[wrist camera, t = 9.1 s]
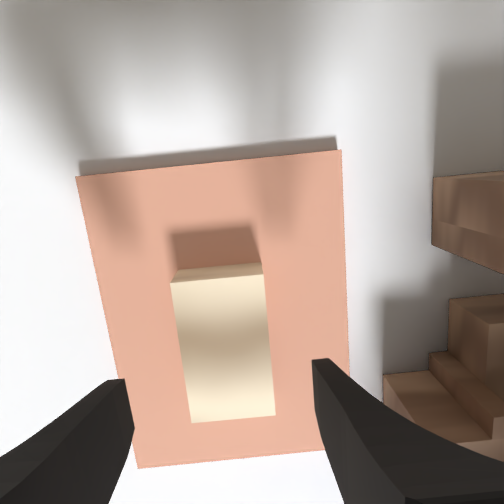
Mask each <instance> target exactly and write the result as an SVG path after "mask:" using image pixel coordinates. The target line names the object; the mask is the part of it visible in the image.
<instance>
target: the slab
mask: <svg viewBox="0 0 504 504" xmlns="http://www.w3.org/2000/svg"><path fill="white" fill-rule="evenodd" d="M170 287H171V294H172V300H173V307H174V313H175V320H176V326H177V333H178V339H179V345H180V352H181V358H182V365H183V371H184V378H185V384H186V391H187V397H188V404H189V410H190V416H191V423H200V422H211V421H221V420H232V419H242V418H253V417H264V416H274V415H276V412H275V400H274V389H273V377H272V366H271V354H270V343H269V331H268V320H267V308H266V297H265V285H264V274H263V269H262V263H261V262H256V263H245V264H234V265H224V266H213V267H203V268H192V269H181V270H178V271H177V273H176V274H175V276H174V277H173V279H172V281H171V282H170Z"/></svg>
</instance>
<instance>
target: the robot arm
mask: <svg viewBox="0 0 504 504" xmlns="http://www.w3.org/2000/svg"><path fill="white" fill-rule="evenodd" d="M311 362H312V378H313V393H314V409H315V414H316V418H317V423H318V427H319V431H320V435H321V439H322V442H323V445H324V448H325V451H326V453H327V456H328V459H329V462H330V465H331V467H332V470H333V473H334V476H335V478H336V481H337V484H338V487H339V490H340V492H341V495H342V498H343V501H344V504H504V462H502V461H499V460H497V459H494V458H491V457H488V456H485V455H482V454H480V453H477V452H475V451H472V450H470V449H467V448H465V447H462V446H460V445H458V444H455V443H453V442H451V441H449V440H447V439H444V438H442V437H440V436H438V435H436V434H434V433H432V432H430V431H428V430H426V429H424V428H422V427H421V426H419V425H417V424H415V423H413V422H411V421H410V420H408V419H407V418H405V417H403V416H402V415H400V414H398V413H397V412H395V411H393V410H392V409H390V408H389V407H387V406H386V405H385V404H383V403H382V402H380V401H379V400H378V399H376V398H375V397H373V396H372V395H371V394H369V393H368V392H367V391H366V390H365V389H363V388H362V387H361V386H360V385H358V384H357V383H356V382H355V381H354V380H353V379H351V378H350V377H349V376H348V375H347V374H346V373H345V372H344V371H343V370H342V369H340V368H339V367H338V366H337V365H336V364H335V363H334V362H333V361H332V360H331V359H329V358H323V359H313V360H311ZM134 430H135V426H134V421H133V416H132V411H131V407H130V402H129V397H128V392H127V388H126V383H125V378H124V379H114V380H107V381H105V382H104V383H102V384H101V385H100V386H98V387H97V388H95V389H94V390H93V391H91V392H90V393H89V394H88V395H86V396H85V397H84V398H83V399H81V400H80V401H79V402H77V403H76V404H75V405H74V406H72V407H71V408H70V409H68V410H67V411H66V412H64V413H63V414H62V415H61V416H59V417H58V418H57V419H55V420H54V421H52V422H51V423H50V424H48V425H47V426H46V427H44V428H43V429H41V430H40V431H39V432H37V433H36V434H35V435H33V436H32V437H30V438H29V439H27V440H26V441H25V442H23V443H22V444H20V445H19V446H17V447H15V448H14V449H12V450H11V451H9V452H8V453H6V454H4V455H3V456H1V457H0V504H108V503H109V501H110V499H111V496H112V494H113V491H114V489H115V486H116V484H117V482H118V479H119V477H120V474H121V472H122V469H123V467H124V464H125V462H126V459H127V456H128V453H129V449H130V446H131V442H132V438H133V434H134Z"/></svg>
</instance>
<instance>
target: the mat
mask: <svg viewBox="0 0 504 504" xmlns="http://www.w3.org/2000/svg"><path fill="white" fill-rule="evenodd" d="M75 178H76V183H77V188H78V192H79V197H80V202H81V206H82V211H83V216H84V220H85V225H86V229H87V234H88V239H89V243H90V248H91V253H92V257H93V262H94V267H95V271H96V276H97V281H98V285H99V290H100V295H101V299H102V304H103V309H104V313H105V318H106V323H107V327H108V332H109V337H110V341H111V346H112V350H113V355H114V360H115V364H116V369H117V374H118V378H119V379H124V378H125V383H126V388H127V392H128V397H129V402H130V407H131V411H132V416H133V421H134V426H135V430H134V434H133V438H132V444H133V448H134V453H135V458H136V462H137V467H138V469H140V468H150V467H160V466H170V465H180V464H190V463H200V462H210V461H220V460H230V459H240V458H250V457H260V456H270V455H280V454H290V453H300V452H310V451H319V450H325V448H324V445H323V442H322V439H321V435H320V431H319V427H318V423H317V418H316V414H315V409H314V393H313V378H312V362H311V360H313V359H323V358H329V359H331V360H332V361H333V362H334V363H335V364H336V365H337V366H338V367H339V368H340V369H342V370H343V371H344V372H345V373H346V374H347V375H348V376H349V377H350V374H349V346H348V318H347V290H346V262H345V235H344V207H343V179H342V151H341V150H332V151H322V152H312V153H302V154H292V155H283V156H273V157H263V158H253V159H243V160H233V161H224V162H214V163H204V164H194V165H184V166H174V167H165V168H155V169H145V170H135V171H125V172H115V173H105V174H96V175H86V176H76V177H75ZM256 262H261V263H262V269H263V274H264V285H265V297H266V308H267V320H268V331H269V343H270V354H271V366H272V377H273V389H274V400H275V412H276V415H274V416H264V417H253V418H242V419H232V420H221V421H211V422H200V423H191V416H190V410H189V404H188V397H187V391H186V384H185V378H184V371H183V365H182V358H181V352H180V345H179V339H178V333H177V326H176V320H175V313H174V307H173V300H172V294H171V287H170V282H171V281H172V279H173V277H174V276H175V274H176V273H177V271H178V270H181V269H192V268H203V267H213V266H224V265H234V264H245V263H256Z"/></svg>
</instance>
